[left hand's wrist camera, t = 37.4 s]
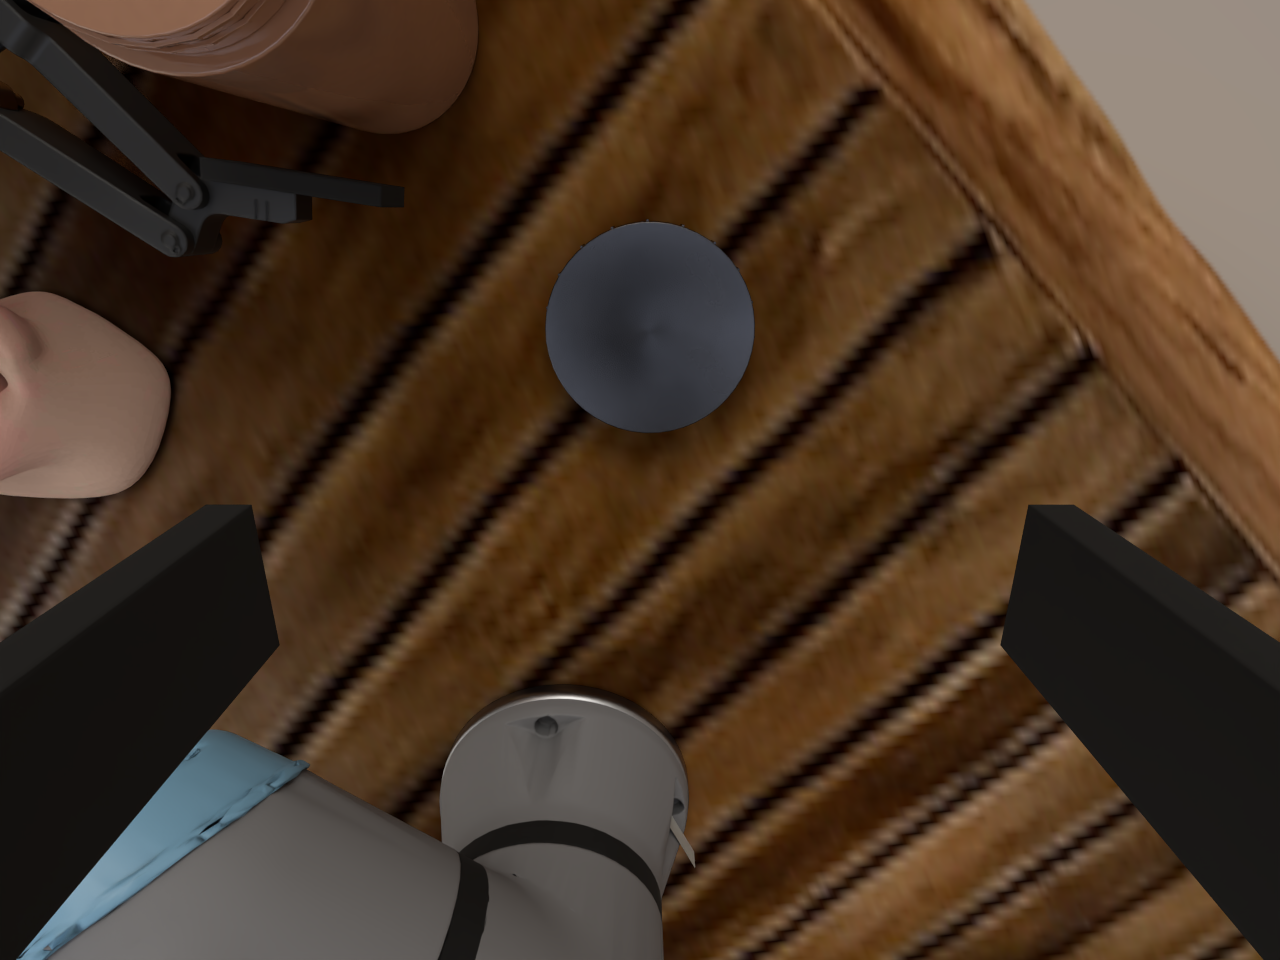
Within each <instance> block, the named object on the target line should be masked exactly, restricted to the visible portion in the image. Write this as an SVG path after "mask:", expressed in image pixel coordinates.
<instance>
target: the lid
mask: <svg viewBox="0 0 1280 960" xmlns="http://www.w3.org/2000/svg"><path fill="white" fill-rule="evenodd" d="M715 244H716V242H714V241H712V240H711V241H710V240H709V239H707V238H705V237H704V236H702V235H700V234H699V233H697V232H695V231H692V230H690V229H687V228H685V227H684V225H683V224H681V225H680V226H679V225H676V224H672V223H667V222H659V221H649V219H646V221H640V222H634V223H628V224H625V225H621V226H618V227H614V226H612V227H611V230H608V231H606V232H604V233H602V234H600V235H599V236H597V237H596V238H594V239H593V240H591V241H589V242H588V243H587V244H586V245H585V244H583V245H582V246H580V247H581V249H580V250H579V251H577V253H576V254H575V255H574V256H573V257H572V258H571V259H570V260H569V262H568V263H567V264H566V266H565V267H564V269H563V270H562V271H561V272H560V273H559V274H558V276H559V277H558V279H557V281H556V283H555V285H554V287H553V290H552V293H551V296H550V299H549V303H548V306H547V308H546V309H547V313H546V326H545V330H546V344H547V348H548V353H549V357H550V360H551V363H552V366H553V368H554V370H555V373H556V375H557V377H558V379H559V381H560V382H561V384H562V385H563V387H564V388H565V390H566V391H567V392H568V394H569V395H570V396H571V397H572V398H573V400H574V401H575V402H576V403H577V404H579V405H580V406H581V407H582V408H583V409H584V410H585V411H587V412H588V413H589V414H591V415H592V416H594V417H595V418H597V419H599V420H601V421H603V422H604V423H606V424H609V425H611V426H614V427H617V428H619V429H624V430H628V431H632V432H641V433H659V432H666V431H672V430H676V429H679V428H683V427H686V426H688V425H690V424H693V423H695V422H697V421H699V420H701V419H702V418H704V417H706V416H707V415H709V414H710V413H711V412H713V411H714V410H715V409H717V408H718V407H719V406H720V405H721V404H722V403H723V402H724V401H725V400H726V399H727V398H728V397H729V396H730V394H731V393H732V392H733V391H734V389H735V388H736V387H737V385H738V383H739V382H740V380H741V378H742V377H743V375H744V372H745V370H746V368H747V366H748V363H749V360H750V356H751V353H752V349H753V343H754V338H755V336H754V333H755V320H754V310H753V305H752V303H753V301H752V300H751V297H750V294H749V291H748V289H747V286H746V283H745V281H744V279H743V278H742V276H741V274H740V272H739V268H738V267H736V266H735V265H734V263H733V262H732V261H731V259H730V258H729V257H728V256H727V255H726V254H725V253H724V252H723V251H722V250H721V249H720V248H719V247H718V246H716V245H715Z"/></svg>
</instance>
